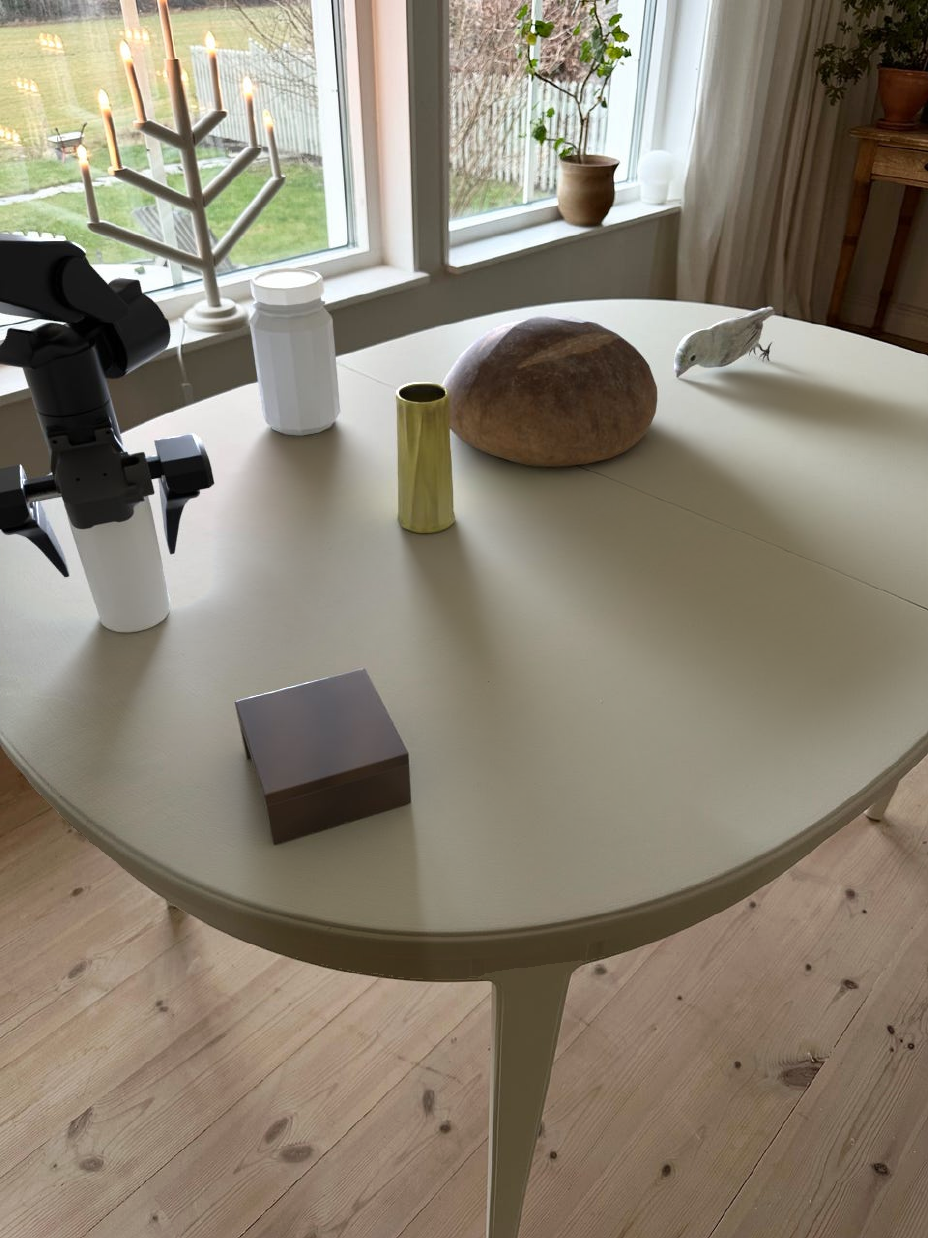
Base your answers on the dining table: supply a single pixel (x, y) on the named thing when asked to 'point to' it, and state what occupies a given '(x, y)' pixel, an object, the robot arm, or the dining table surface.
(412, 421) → the vase
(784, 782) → the dining table surface
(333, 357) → the jar
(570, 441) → the bread
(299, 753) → the wooden box
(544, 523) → the dining table surface
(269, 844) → the dining table surface
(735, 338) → the decorative bird
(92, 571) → the mug
